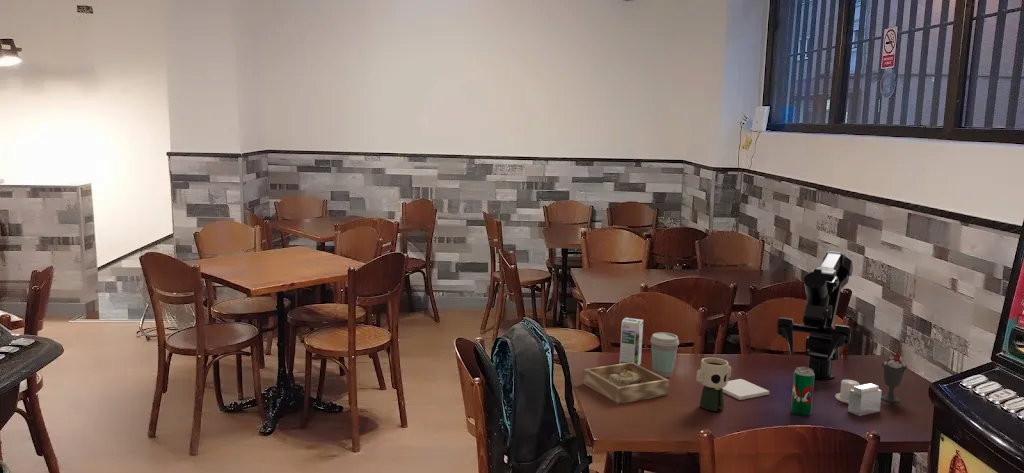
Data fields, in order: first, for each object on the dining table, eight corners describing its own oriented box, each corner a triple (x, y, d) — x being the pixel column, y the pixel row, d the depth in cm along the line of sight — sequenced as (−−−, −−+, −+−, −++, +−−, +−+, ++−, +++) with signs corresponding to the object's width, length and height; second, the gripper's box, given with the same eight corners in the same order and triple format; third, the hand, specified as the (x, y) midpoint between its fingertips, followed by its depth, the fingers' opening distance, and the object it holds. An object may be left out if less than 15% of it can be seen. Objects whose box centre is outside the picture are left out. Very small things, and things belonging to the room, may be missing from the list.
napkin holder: (867, 407, 207) (870, 382, 206) (879, 411, 204) (882, 386, 202) (847, 411, 203) (850, 386, 202) (859, 416, 200) (862, 390, 199)
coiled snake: (648, 388, 215) (650, 371, 214) (628, 398, 208) (630, 379, 207) (619, 377, 222) (621, 360, 221) (599, 385, 215) (601, 368, 213)
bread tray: (631, 375, 226) (632, 361, 225) (668, 394, 211) (669, 380, 210) (583, 383, 218) (584, 369, 218) (617, 403, 203) (618, 388, 203)
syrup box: (618, 366, 234) (621, 320, 232) (623, 361, 240) (625, 316, 237) (636, 369, 232) (639, 323, 230) (641, 363, 238) (643, 318, 235)
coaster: (741, 382, 223) (741, 378, 223) (769, 394, 214) (769, 391, 214) (712, 387, 218) (712, 383, 218) (739, 400, 209) (740, 396, 209)
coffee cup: (677, 380, 223) (679, 341, 221) (647, 377, 225) (650, 338, 223) (676, 371, 231) (679, 333, 230) (648, 368, 233) (650, 330, 231)
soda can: (812, 412, 202) (816, 368, 200) (808, 418, 197) (812, 374, 196) (792, 407, 204) (796, 365, 202) (788, 413, 200) (792, 370, 198)
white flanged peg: (846, 393, 217) (848, 376, 216) (867, 401, 211) (869, 384, 210) (829, 397, 214) (831, 380, 213) (850, 405, 208) (852, 388, 207)
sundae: (893, 405, 208) (899, 352, 206) (872, 397, 214) (877, 345, 212) (909, 401, 211) (915, 349, 209) (887, 393, 217) (893, 343, 215)
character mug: (703, 415, 197) (706, 367, 195) (686, 406, 203) (689, 359, 201) (736, 410, 201) (740, 363, 199) (719, 401, 208) (723, 355, 206)
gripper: (780, 288, 210) (772, 337, 202) (854, 297, 202) (848, 348, 194) (781, 310, 218) (773, 357, 210) (852, 319, 211) (846, 368, 202)
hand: (809, 357), depth 204 cm, fingers open, 9 cm apart
